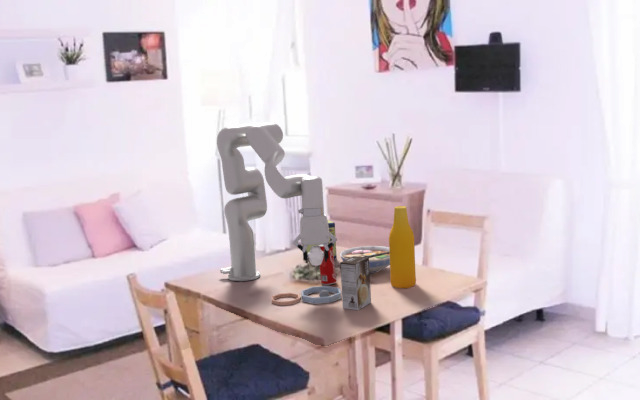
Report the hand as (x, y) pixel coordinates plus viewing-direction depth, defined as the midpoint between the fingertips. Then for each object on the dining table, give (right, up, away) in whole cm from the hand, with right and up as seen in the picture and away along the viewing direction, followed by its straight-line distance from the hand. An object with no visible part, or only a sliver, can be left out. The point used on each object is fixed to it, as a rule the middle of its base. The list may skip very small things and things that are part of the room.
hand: (316, 261), depth 275 cm
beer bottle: (+32, -10, +9) cm, 34 cm away
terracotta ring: (-11, -14, -2) cm, 17 cm away
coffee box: (+14, -14, -11) cm, 23 cm away
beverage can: (+4, -10, +17) cm, 20 cm away
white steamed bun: (0, -1, 0) cm, 1 cm away
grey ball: (+3, -13, -4) cm, 14 cm away
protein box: (+1, -3, +57) cm, 57 cm away
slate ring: (+2, -13, 0) cm, 13 cm away
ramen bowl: (+21, -6, +30) cm, 37 cm away
